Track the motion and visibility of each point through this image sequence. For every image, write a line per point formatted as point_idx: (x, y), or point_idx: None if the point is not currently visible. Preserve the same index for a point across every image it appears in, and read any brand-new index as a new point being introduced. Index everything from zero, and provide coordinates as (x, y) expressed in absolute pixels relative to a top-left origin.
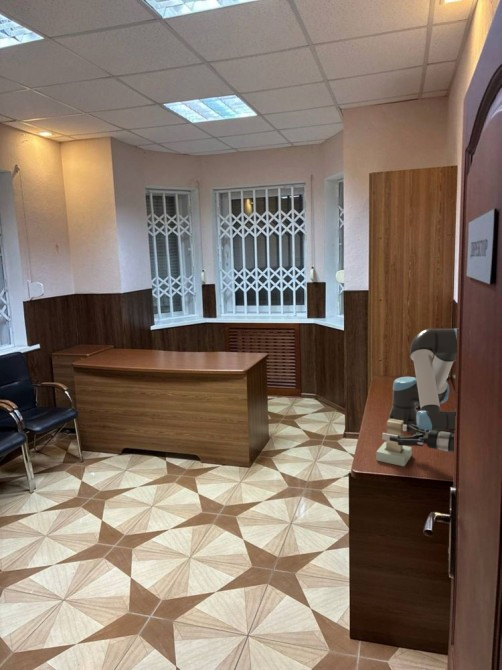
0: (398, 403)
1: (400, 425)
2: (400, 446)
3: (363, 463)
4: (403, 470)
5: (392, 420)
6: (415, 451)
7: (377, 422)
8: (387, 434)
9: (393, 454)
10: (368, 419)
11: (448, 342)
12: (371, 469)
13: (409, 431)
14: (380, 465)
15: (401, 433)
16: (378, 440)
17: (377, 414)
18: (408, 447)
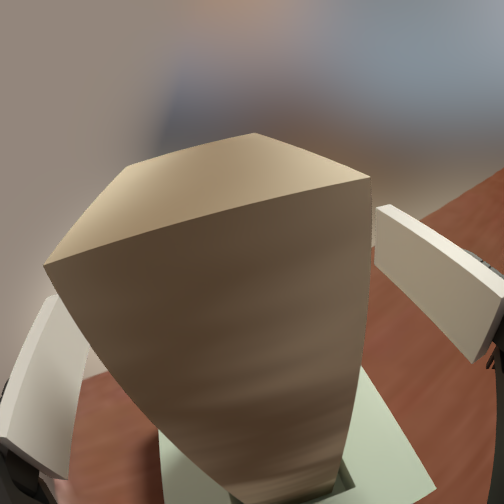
0: None
1: (74, 305)
2: (246, 494)
3: (118, 386)
4: None
5: (197, 153)
6: (482, 460)
7: (474, 214)
8: (29, 333)
9: (175, 484)
10: (457, 199)
11: None
12: (77, 434)
13: (498, 389)
14: (133, 454)
15: (235, 438)
16: (396, 288)
17: (492, 195)
18: (407, 482)
